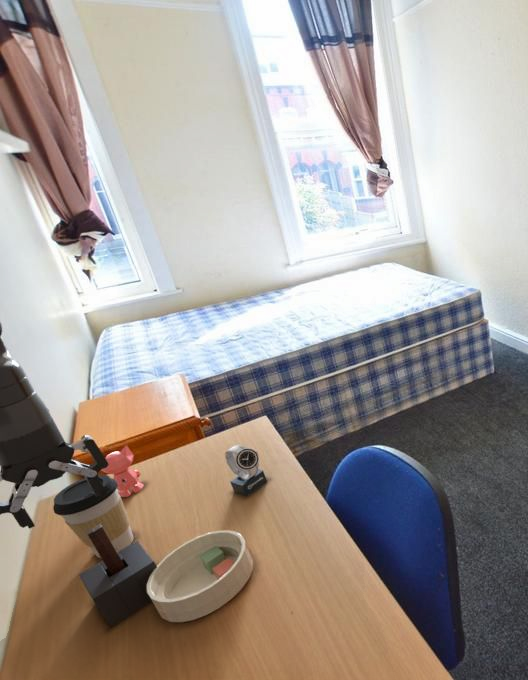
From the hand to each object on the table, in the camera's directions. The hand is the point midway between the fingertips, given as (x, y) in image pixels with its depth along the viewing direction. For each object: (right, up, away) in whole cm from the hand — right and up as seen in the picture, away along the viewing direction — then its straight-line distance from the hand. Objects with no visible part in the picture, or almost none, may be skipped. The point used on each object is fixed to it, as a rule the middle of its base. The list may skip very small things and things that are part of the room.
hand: (66, 509), depth 77 cm
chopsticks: (+5, -19, +8) cm, 21 cm away
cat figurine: (-18, -9, +36) cm, 41 cm away
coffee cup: (-8, -15, +20) cm, 26 cm away
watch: (+12, -7, +33) cm, 36 cm away
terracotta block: (+22, -16, +9) cm, 28 cm away
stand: (+5, -19, +8) cm, 21 cm away
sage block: (+18, -15, +12) cm, 26 cm away
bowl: (+18, -17, +8) cm, 26 cm away
